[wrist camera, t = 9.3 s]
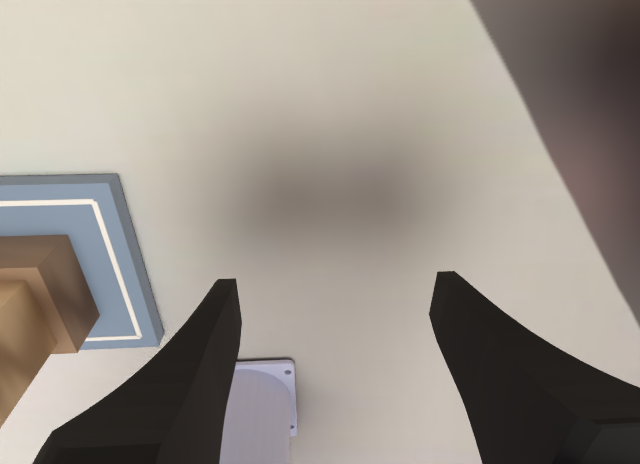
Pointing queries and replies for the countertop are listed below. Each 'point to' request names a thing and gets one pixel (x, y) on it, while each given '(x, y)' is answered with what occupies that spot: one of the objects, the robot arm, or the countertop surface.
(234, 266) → the countertop surface
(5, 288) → the oak block
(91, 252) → the board
